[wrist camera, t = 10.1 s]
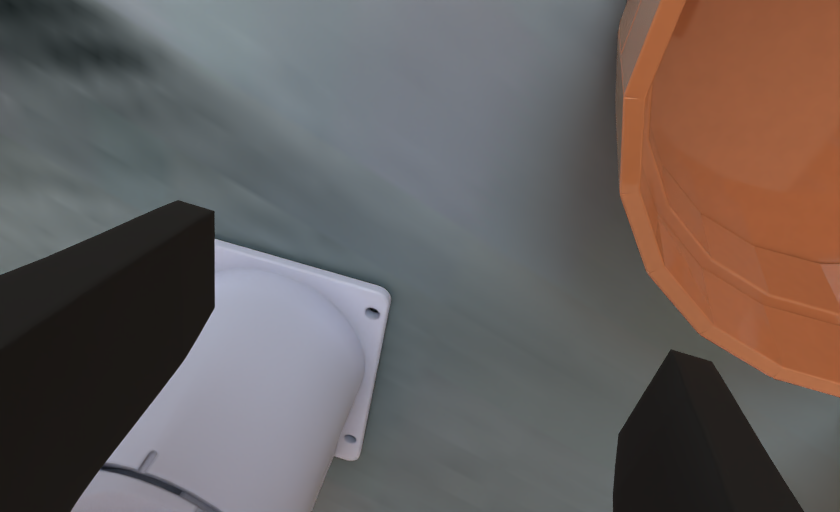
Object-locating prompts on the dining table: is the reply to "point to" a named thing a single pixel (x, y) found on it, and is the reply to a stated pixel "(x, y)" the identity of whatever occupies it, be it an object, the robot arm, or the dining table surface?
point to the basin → (738, 172)
